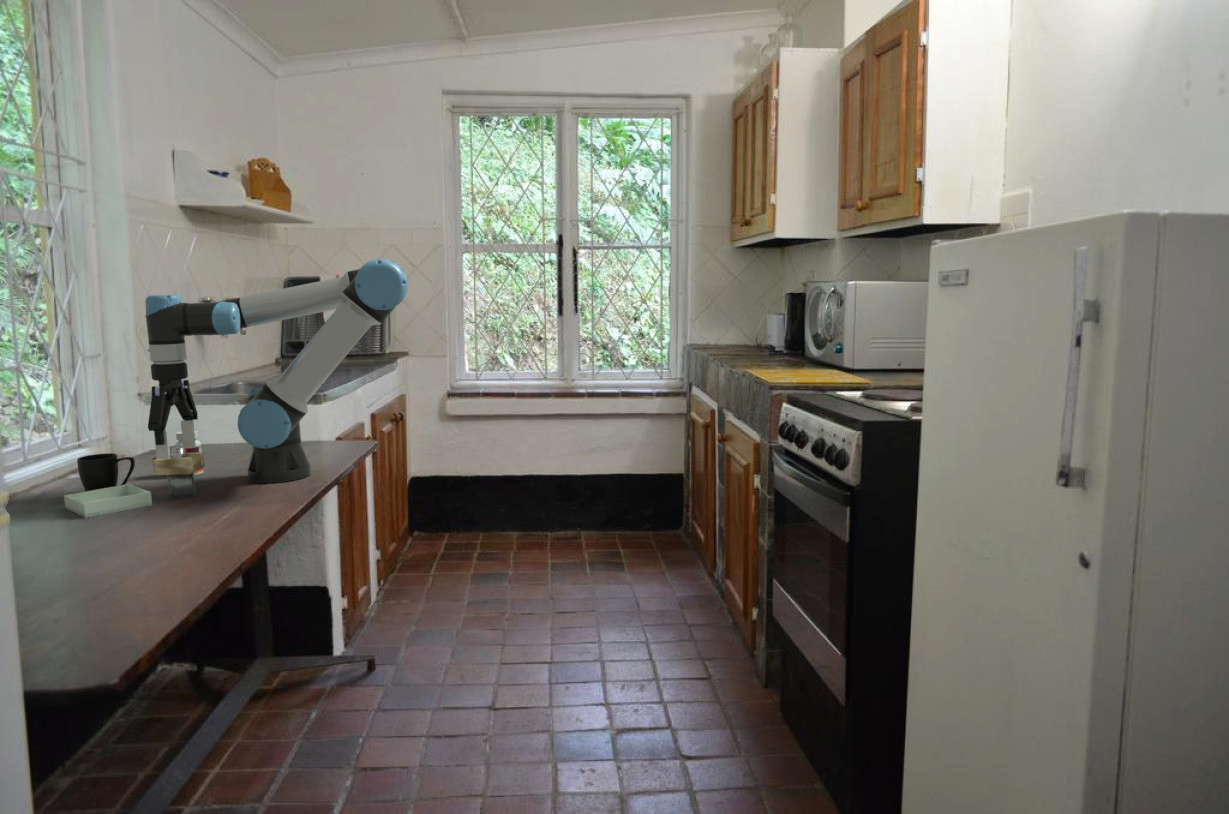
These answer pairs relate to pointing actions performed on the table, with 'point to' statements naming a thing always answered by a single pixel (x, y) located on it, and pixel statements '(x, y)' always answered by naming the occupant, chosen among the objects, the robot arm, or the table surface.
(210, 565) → the table surface
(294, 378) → the robot arm
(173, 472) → the wooden rectangular frame
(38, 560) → the table surface
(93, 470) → the mug
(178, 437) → the pill bottle
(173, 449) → the grey piece
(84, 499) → the tray
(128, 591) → the table surface
